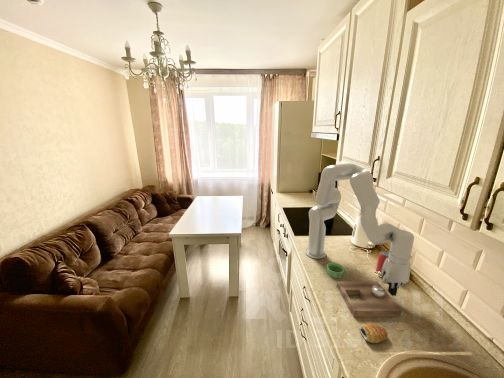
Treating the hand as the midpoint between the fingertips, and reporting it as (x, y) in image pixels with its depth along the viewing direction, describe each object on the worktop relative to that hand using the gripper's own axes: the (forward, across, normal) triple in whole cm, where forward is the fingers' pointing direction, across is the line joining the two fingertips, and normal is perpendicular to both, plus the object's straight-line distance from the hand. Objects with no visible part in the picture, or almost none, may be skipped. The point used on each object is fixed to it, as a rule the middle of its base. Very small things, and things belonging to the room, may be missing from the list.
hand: (391, 293), depth 98 cm
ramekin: (+4, +18, -19) cm, 27 cm away
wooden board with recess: (+4, +12, 0) cm, 12 cm away
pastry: (+4, +16, +20) cm, 26 cm away
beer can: (+4, -8, -20) cm, 22 cm away
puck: (+1, +7, 0) cm, 7 cm away
